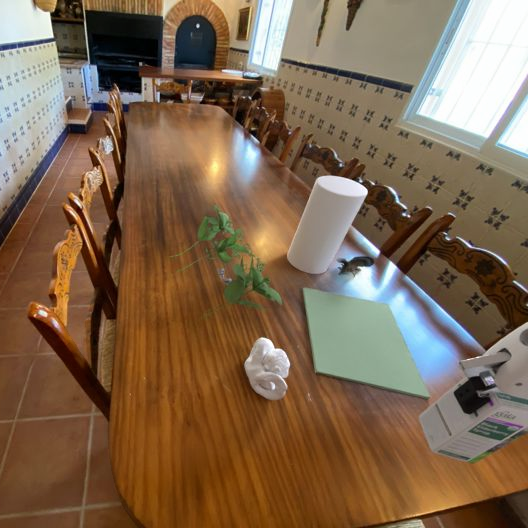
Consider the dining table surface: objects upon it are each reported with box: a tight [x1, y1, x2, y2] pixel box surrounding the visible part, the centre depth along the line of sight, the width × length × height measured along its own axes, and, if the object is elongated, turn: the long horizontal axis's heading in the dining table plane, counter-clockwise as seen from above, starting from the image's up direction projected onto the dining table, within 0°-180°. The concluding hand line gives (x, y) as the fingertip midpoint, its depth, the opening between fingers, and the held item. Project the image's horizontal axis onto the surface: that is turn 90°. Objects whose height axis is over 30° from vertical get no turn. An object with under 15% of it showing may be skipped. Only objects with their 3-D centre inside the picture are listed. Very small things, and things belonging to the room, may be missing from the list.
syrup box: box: [417, 375, 528, 464], centre depth 42 cm, size 6×6×14 cm
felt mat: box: [302, 286, 432, 400], centre depth 70 cm, size 22×26×1 cm
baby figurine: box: [243, 337, 291, 401], centre depth 59 cm, size 9×12×8 cm
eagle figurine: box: [336, 255, 375, 278], centre depth 87 cm, size 8×7×9 cm
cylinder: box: [286, 175, 368, 275], centre depth 84 cm, size 12×12×25 cm
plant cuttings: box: [168, 205, 283, 326], centre depth 74 cm, size 35×17×22 cm
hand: (487, 408), depth 41 cm, fingers closed on syrup box, 5 cm apart
